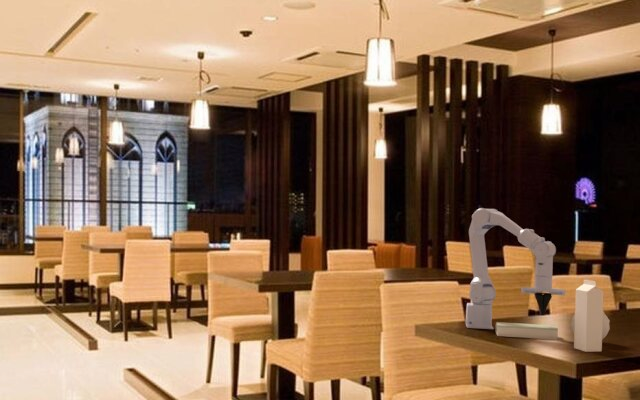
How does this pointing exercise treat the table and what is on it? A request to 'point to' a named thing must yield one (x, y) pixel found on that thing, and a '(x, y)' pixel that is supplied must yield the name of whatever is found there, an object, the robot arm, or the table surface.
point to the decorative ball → (604, 325)
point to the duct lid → (526, 326)
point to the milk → (588, 317)
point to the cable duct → (527, 333)
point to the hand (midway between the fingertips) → (542, 315)
